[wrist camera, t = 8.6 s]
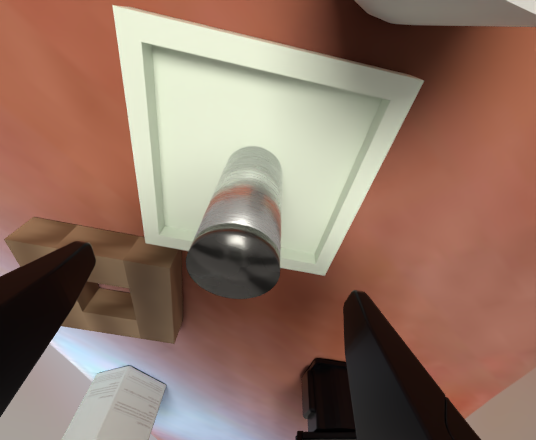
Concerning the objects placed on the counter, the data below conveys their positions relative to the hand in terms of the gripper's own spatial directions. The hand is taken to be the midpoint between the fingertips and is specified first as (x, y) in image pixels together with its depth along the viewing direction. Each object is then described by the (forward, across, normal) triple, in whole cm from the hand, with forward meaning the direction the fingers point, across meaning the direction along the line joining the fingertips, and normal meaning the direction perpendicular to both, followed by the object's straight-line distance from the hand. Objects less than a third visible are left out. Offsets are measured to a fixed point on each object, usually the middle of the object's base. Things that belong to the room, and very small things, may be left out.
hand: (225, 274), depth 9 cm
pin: (+8, 0, 0) cm, 8 cm away
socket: (+8, +10, +13) cm, 19 cm away
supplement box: (+9, +12, +37) cm, 40 cm away
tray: (+8, 0, 0) cm, 8 cm away
